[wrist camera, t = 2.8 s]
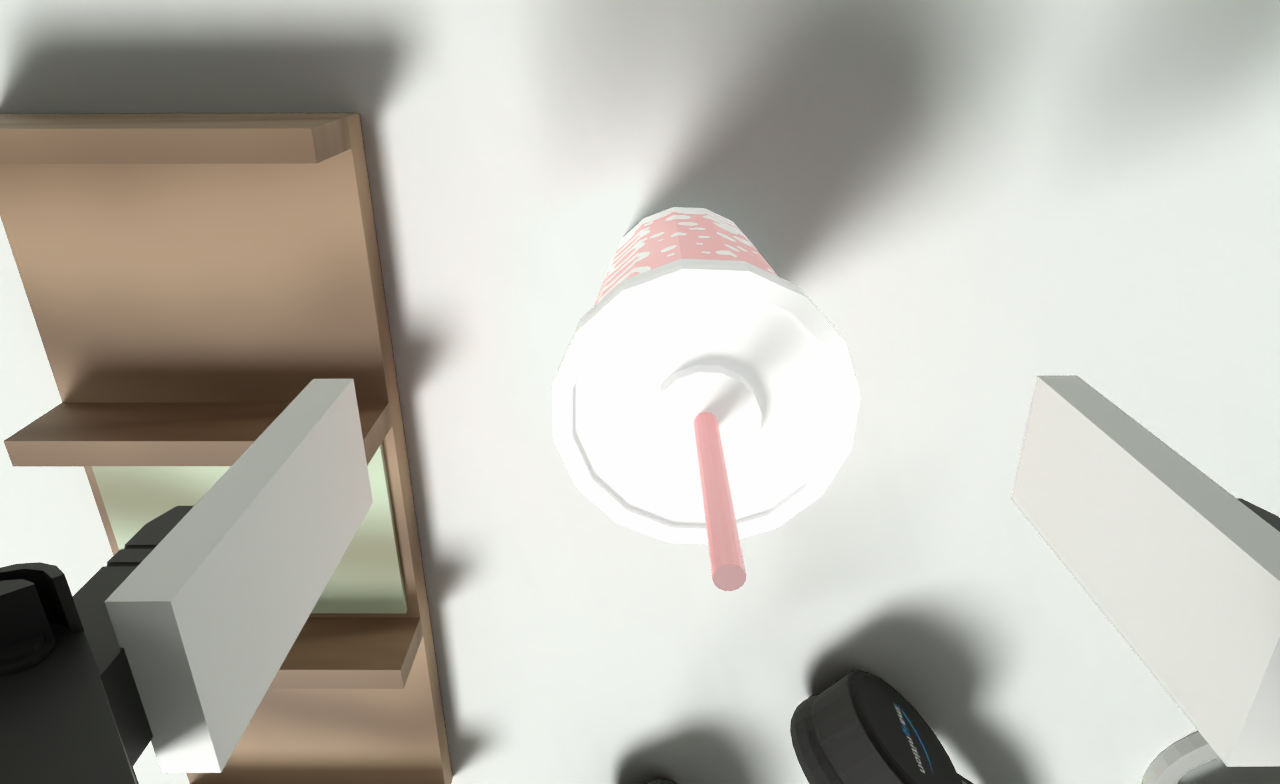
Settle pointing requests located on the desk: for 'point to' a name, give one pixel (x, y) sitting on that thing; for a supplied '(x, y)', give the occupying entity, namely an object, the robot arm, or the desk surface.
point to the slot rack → (232, 384)
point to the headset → (866, 737)
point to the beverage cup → (702, 391)
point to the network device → (1179, 760)
